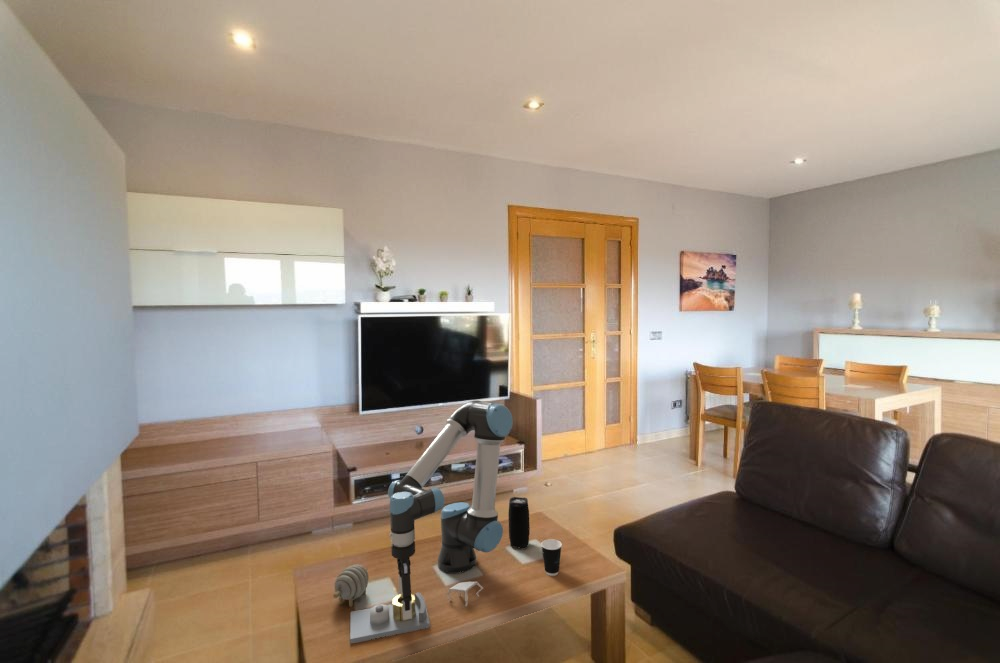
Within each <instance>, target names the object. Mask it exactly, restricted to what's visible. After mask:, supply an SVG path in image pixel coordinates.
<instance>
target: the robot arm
mask: <svg viewBox="0 0 1000 663" xmlns="http://www.w3.org/2000/svg"><path fill="white" fill-rule="evenodd" d="M445 422H446V424H445V426H444V428H443V429H442V430H441V431H440V432H439V433H438V435H437V436H436V437H435V438H434V439H433V441H432V442H431V443H430V444H429V446H428V447H427V448H426V449H425V451H424V452H423V453H422V454H421V456H420V457H419V458H418V459H417V461H416V462H415V463H414V464H413V465H412V466H411V468H410V469H409V471H408V472H407V473H406V474H405V476H403V478H402V479H398V480H394V481H392V482H391V483H390V485H389V487H388V490H387V495H388V498H389V518H390V519H389V522H390V533H389V534H388V536H389V538H390V541H391V545H390V547H391V548H390V549H391V550H390V551H391V556H392V558H395V559H396V562H397V570H398V592H399V593H398V595H399V594H403V598H401V599H400V600H401V601H402V606H403V620H406V619H411V618H412V605H411V600H412V596H411V594H412V586H411V585H412V583H411V573H412V572H411V565H412V564H411V560H410V558H411V557H413V556H414V555H415V553H416V541H415V540H416V532H415V531H416V529H415V521H417V520H419V519H421V518H423V517H426V516H429V515H432V514H434V513H436V512H437V511H440V510H441V512H440V525H441V526H440V529H441V533H440V534H441V546H440V550H439V553H438V557H437V566H438V568H439V569H440V570H441V571H443V572H445V573H448V574H449V573H450V574H458V573H464V572H468V571H470V570H471V569H473V568H474V567H475V566H476V564H477V554H476V552H475V550H476V551H477V552H478V551H479V552H482V553H490V552H493V550H495V549H496V548H497V547H498V546H499V544H500V542H501V540H502V537H503V533H504V526H503V525H502V523H501V522H500V521H499V519H498V517H499V513H498V511H497V509H496V507H495V506H496V494H497V482H498V473H499V472H498V471H499V462H500V453H501V452H500V451H501V444H502V443H503V442H505V441H506V440H505V439H506V436H508V435H509V434H510V432H511V430H512V428H513V424H514V421H513V415H512V412H511V411H510V410H509V408H508V407H507V406H505V405H503V404H500V403H496V402H489V401H483V400H482V401H481V400H471V401H468V402H466V403H464V404H463V405H461V406H460V407H459V408H457V409H456V410H455V411H454V412H453V413H452V414H451V415H450V416H449V418H448V419H447V420H446V421H445ZM471 431H474V436H473V437H474V439H475V440H476V442H477V446H476V458H475V469H474V478H473V479H474V481H473V490H472V498H471V499H472V500H471V504H470V503H468V502H461V501H460V502H453V503H449V504H447V505H445V496H444V493H443V491H442V490H441V489H440V488H437V487H433V488H429V489H424V488H423V487H424V486H425V485H426V483H428V481H429V480H430V479H431V477H432V475H434V473H435V472H436V471H437V470H438V469H439V467H440V465H441V464H442V463H443V462H444V461H445V459H446V458H447V457H448V455H450V452H452V450H453V449H454V448H455V446H457V444H458V443H459V441H460V440H461V439H462V438H465V437H467V436H468V434H469V433H470V432H471Z"/></svg>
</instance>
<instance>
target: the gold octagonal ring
mask: <svg viewBox="0 0 1000 663" xmlns="http://www.w3.org/2000/svg"><path fill="white" fill-rule="evenodd" d="M411 596H412V600H411V605H412V618H413V617H414V616H415V615H416V612H415V594H412V593H411ZM401 598H403V594H399V593H398V594H397V595H396V596H395V597H393V598H392V604H393V619H394V620H396V621H399V622H400V621H401V622H404V621H409V620H411V619H412V618H411V619H406V620H403V606H402V601H401V600H400V599H401Z"/></svg>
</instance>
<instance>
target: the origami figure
mask: <svg viewBox="0 0 1000 663" xmlns="http://www.w3.org/2000/svg"><path fill="white" fill-rule="evenodd" d="M476 585H477V586H478V587H479V588H480V589H479V590H478V591H477V592H476V593H475V595H476V597H478V598H479V597H480V595H479V593H480V592H481V591H482V590H483V589H484V587H483V586H482V585H481V584H480V583H479V582H478V581H462V582H458V583H457V584H455V585H454V586H452V587H450V588H449V589H448V592H447V593H446V597H447V598H448V599H450V600H449V602H452V601H453V598H451V597H450V596H449V595H450V594H451V592H452V591H453V592H454V591H456V592H458V597H461V595H462V593H461V592H464V601H465V607H467V606H468V600H469V599H468V591H469V590H470V589H472V588H473V587H475V586H476Z"/></svg>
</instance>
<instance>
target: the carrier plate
mask: <svg viewBox="0 0 1000 663" xmlns="http://www.w3.org/2000/svg"><path fill="white" fill-rule="evenodd" d="M414 597H415V612H416V615H415V616H414V617H413V618H412V619H411V620H409V621H404V622H401V621H400V622H399V621H396V620H394V619H393V603H391V604H381V603H380V604H376V605H374V606H372V607H370V608H365V609H364V608H363V609H359V610H354V611H353V610H352V611H350V621H349V622H350V624H349V625H350V628H349V631H350V633H349V641H350V643H349V644H352V643H353V644H357V643H362V642H366V641H371V639H372V640H376V639H375V638H377V639H381V638H380V637H382V638H386V637H391V636H395V635H396V634H397V635H401V634H405V633H411V632H416V631H421V630H425V628H426V629H430V627H431V622H430V617H429V614H428V610H427V605H426V600H425V598H424V596H423V595H422V594H421V592H419V591H418V592H416V593H414ZM420 629H421V630H420ZM385 636H386V637H385Z"/></svg>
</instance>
